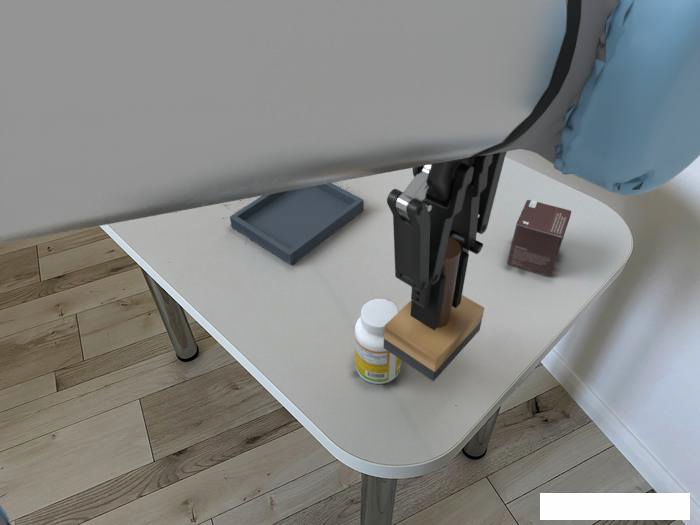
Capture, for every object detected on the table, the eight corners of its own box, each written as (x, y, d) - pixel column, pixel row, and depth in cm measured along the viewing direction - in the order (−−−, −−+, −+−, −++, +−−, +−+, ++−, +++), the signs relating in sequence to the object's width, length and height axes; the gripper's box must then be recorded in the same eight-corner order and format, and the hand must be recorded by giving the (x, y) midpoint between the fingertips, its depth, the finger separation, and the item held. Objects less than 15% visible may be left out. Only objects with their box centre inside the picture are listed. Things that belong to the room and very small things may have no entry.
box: (549, 278, 77) (562, 238, 72) (505, 264, 79) (515, 224, 74) (559, 250, 81) (572, 210, 76) (517, 238, 83) (527, 197, 78)
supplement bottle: (383, 340, 70) (386, 286, 63) (410, 371, 67) (415, 317, 60) (346, 360, 68) (344, 306, 61) (372, 393, 65) (373, 340, 58)
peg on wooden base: (433, 381, 53) (446, 291, 45) (383, 348, 56) (386, 256, 48) (479, 330, 58) (500, 238, 49) (430, 301, 60) (442, 209, 52)
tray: (291, 265, 80) (289, 254, 78) (231, 227, 86) (229, 216, 84) (363, 210, 88) (363, 199, 86) (304, 179, 94) (303, 168, 92)
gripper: (482, 20, 43) (450, 247, 60) (342, 102, 35) (349, 340, 51) (576, 47, 40) (514, 281, 56) (444, 146, 31) (417, 386, 48)
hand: (435, 309), depth 54 cm, fingers closed on peg on wooden base, 3 cm apart
